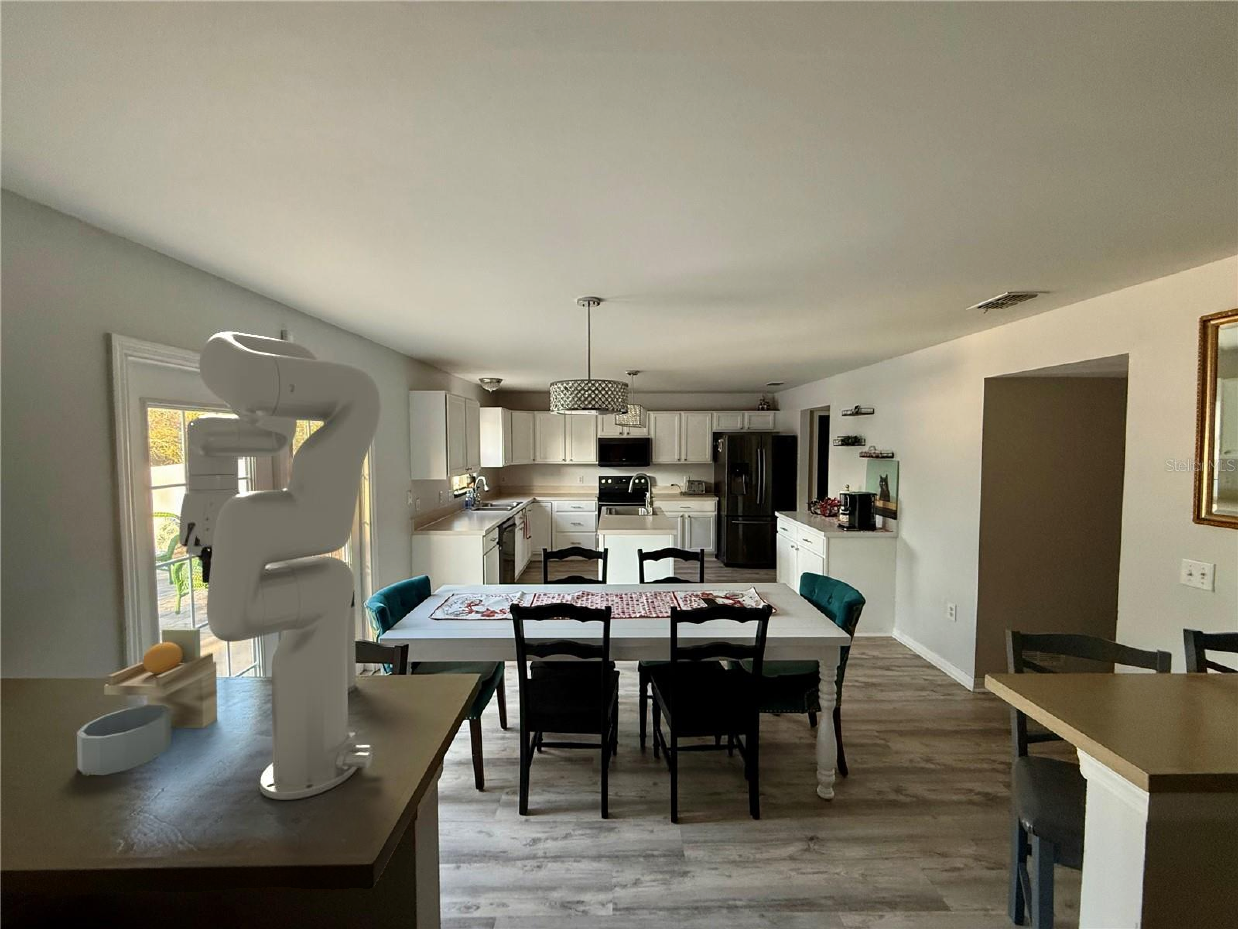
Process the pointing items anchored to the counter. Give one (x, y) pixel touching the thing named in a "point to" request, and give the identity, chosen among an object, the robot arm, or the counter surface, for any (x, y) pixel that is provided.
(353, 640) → the travel mug
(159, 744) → the gray oval basket
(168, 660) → the ball
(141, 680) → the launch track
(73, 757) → the counter surface
